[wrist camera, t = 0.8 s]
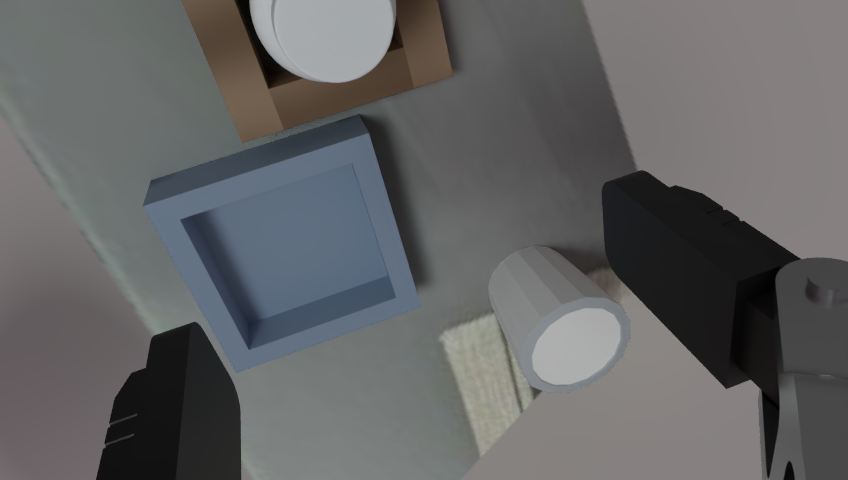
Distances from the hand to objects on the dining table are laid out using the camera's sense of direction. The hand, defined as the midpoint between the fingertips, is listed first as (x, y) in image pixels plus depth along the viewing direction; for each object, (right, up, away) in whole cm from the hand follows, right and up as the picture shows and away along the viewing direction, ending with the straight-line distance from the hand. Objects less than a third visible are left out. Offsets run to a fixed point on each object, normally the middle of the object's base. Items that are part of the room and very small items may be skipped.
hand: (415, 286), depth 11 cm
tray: (-7, +1, +22) cm, 23 cm away
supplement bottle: (-5, +13, +16) cm, 21 cm away
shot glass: (+7, -2, +28) cm, 29 cm away
